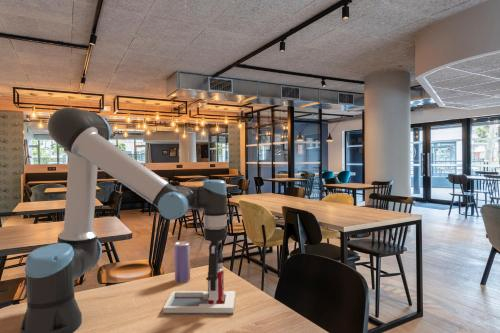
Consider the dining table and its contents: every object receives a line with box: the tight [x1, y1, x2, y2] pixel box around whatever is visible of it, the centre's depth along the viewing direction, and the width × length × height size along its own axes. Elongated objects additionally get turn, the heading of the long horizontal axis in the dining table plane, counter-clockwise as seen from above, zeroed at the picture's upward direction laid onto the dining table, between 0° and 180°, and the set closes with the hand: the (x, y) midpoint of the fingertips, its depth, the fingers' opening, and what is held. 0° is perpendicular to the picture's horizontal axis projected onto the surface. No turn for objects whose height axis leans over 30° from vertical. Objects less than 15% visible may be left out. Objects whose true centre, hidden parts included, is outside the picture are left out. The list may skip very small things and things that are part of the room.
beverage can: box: [173, 240, 191, 284], centre depth 126 cm, size 6×6×15 cm
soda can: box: [207, 266, 225, 304], centre depth 105 cm, size 5×5×12 cm
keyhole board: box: [162, 290, 236, 316], centre depth 105 cm, size 22×12×2 cm, turn 89°
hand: (216, 290), depth 105 cm, fingers open, 13 cm apart
